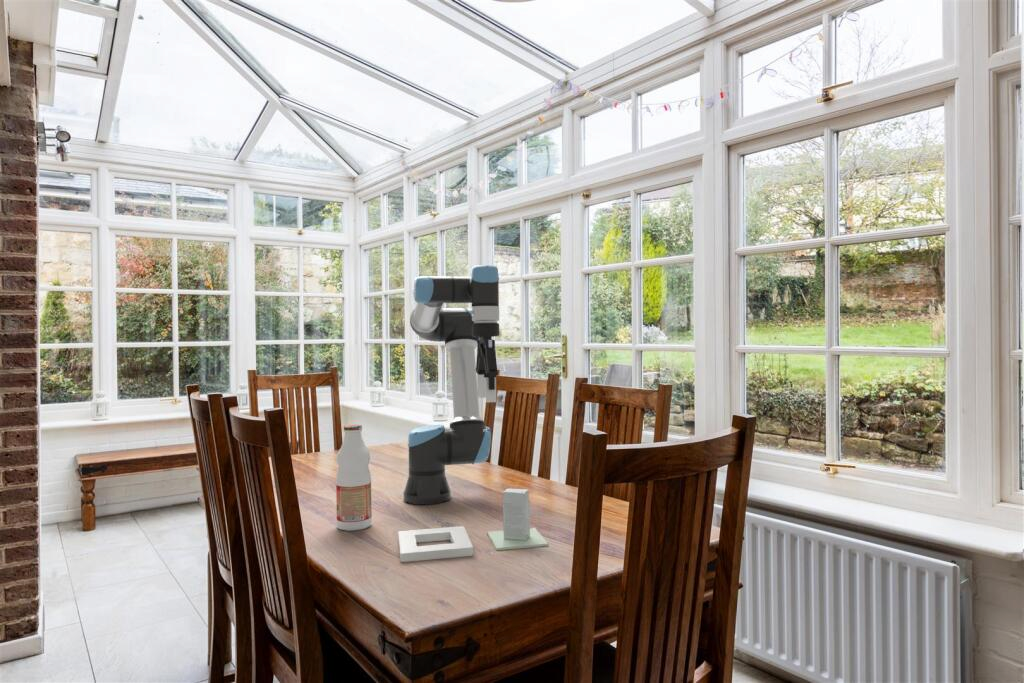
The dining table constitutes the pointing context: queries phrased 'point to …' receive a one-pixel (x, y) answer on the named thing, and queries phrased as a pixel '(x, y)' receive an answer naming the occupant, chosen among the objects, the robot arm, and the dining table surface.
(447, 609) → the dining table surface
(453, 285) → the robot arm
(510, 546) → the pad
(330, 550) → the dining table surface
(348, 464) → the fruit juice
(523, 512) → the skincare box
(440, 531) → the white frame
